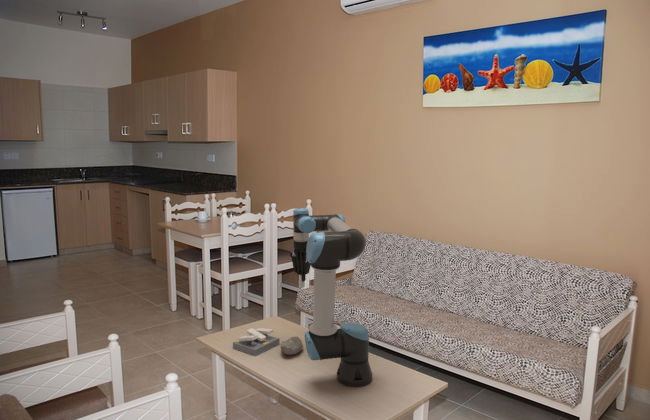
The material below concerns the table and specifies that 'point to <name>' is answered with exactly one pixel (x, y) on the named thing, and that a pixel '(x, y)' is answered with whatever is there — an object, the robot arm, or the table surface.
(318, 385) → the table surface
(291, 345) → the seashell
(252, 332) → the rocker
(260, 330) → the rocker
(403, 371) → the table surface
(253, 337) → the plate
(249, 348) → the switch unit
